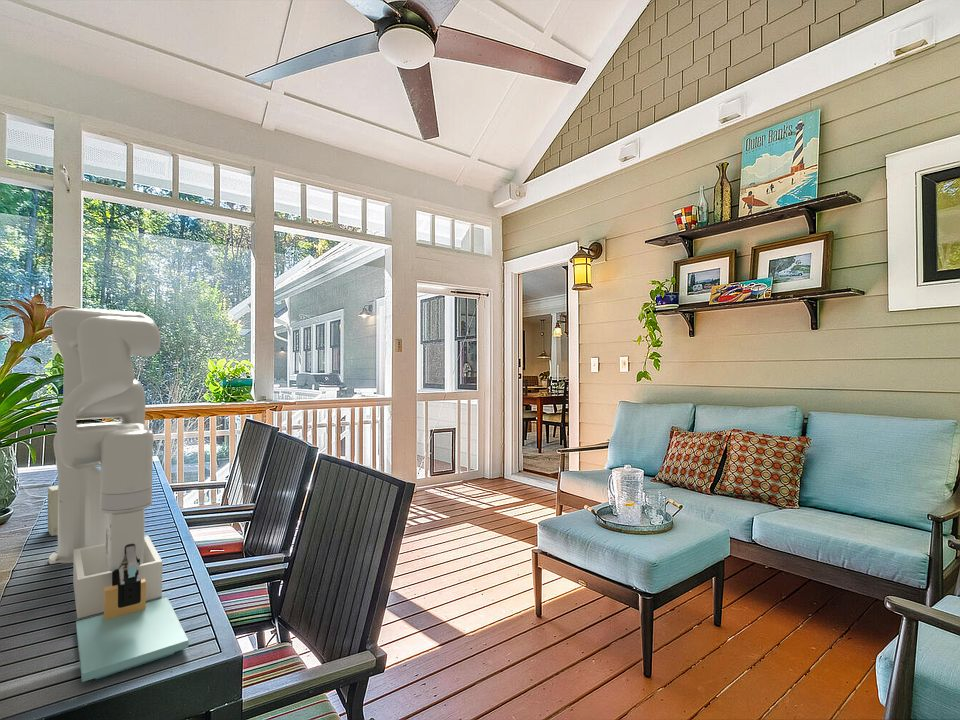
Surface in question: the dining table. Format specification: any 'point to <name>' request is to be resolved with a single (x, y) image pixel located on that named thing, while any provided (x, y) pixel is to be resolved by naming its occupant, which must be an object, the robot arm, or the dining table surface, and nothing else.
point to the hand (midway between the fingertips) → (125, 594)
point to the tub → (109, 577)
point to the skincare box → (53, 510)
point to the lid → (127, 635)
